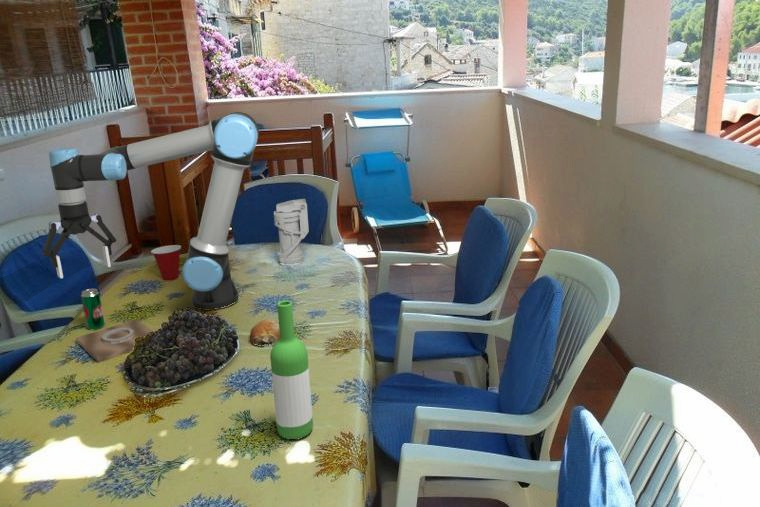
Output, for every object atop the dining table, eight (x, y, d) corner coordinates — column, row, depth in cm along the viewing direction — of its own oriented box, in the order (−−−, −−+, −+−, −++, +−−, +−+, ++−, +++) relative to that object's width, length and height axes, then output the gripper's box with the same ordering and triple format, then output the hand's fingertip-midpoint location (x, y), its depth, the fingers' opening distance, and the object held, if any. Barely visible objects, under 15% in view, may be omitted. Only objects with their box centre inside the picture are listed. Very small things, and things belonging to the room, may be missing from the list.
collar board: (137, 323, 187) (136, 316, 186) (162, 341, 175) (160, 333, 174) (76, 342, 176) (74, 334, 175) (98, 362, 163) (96, 354, 162)
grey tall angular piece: (278, 267, 235) (272, 205, 227) (277, 259, 245) (272, 199, 237) (311, 264, 237) (307, 202, 229) (309, 256, 247) (305, 197, 239)
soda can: (98, 331, 183) (91, 294, 179) (83, 330, 184) (76, 293, 180) (108, 324, 187) (102, 288, 184) (94, 323, 188) (87, 287, 185)
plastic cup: (173, 271, 234) (169, 242, 231) (191, 276, 228) (187, 246, 224) (149, 279, 226) (144, 249, 222) (166, 284, 220) (162, 253, 216)
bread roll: (289, 349, 175) (294, 322, 176) (269, 349, 166) (274, 320, 167) (261, 343, 179) (266, 317, 180) (240, 343, 170) (245, 315, 171)
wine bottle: (307, 443, 125) (297, 311, 116) (272, 440, 127) (259, 309, 118) (317, 422, 133) (308, 296, 123) (284, 419, 134) (272, 294, 125)
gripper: (111, 193, 184) (121, 259, 191) (20, 207, 168) (35, 278, 175) (120, 197, 179) (131, 264, 185) (28, 212, 163) (43, 285, 169)
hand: (84, 271), depth 180 cm, fingers open, 13 cm apart
